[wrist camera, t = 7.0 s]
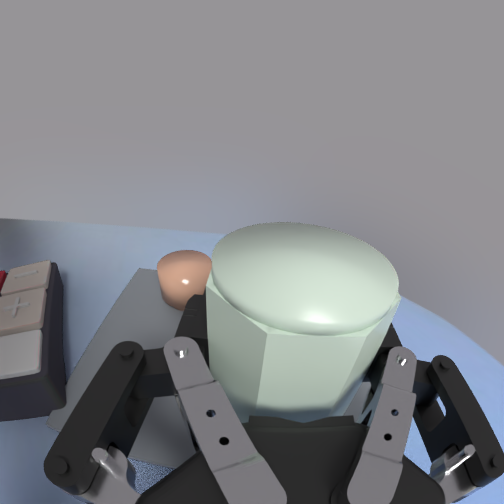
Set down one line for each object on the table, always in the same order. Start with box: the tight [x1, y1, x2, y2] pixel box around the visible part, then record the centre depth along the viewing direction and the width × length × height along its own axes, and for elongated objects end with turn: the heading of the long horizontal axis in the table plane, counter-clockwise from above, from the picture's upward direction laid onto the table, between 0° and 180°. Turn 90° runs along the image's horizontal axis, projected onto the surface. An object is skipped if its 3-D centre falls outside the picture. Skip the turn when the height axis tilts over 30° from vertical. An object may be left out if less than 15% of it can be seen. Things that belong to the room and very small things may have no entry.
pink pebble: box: [157, 250, 212, 311], centre depth 22 cm, size 4×4×3 cm
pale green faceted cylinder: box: [206, 222, 401, 423], centre depth 12 cm, size 6×6×10 cm
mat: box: [46, 268, 371, 469], centre depth 19 cm, size 20×18×1 cm
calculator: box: [0, 260, 67, 422], centre depth 15 cm, size 11×4×15 cm
